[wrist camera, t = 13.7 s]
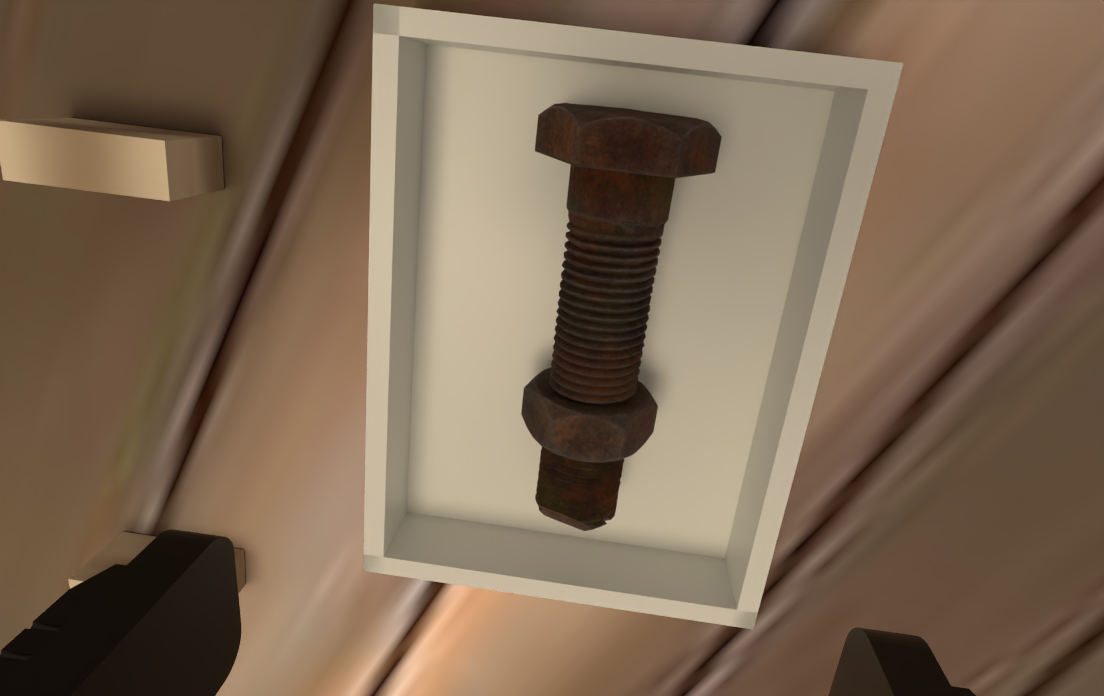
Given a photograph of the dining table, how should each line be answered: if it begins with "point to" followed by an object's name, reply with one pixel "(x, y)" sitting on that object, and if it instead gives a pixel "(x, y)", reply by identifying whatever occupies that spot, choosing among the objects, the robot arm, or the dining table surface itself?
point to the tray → (533, 292)
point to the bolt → (605, 297)
